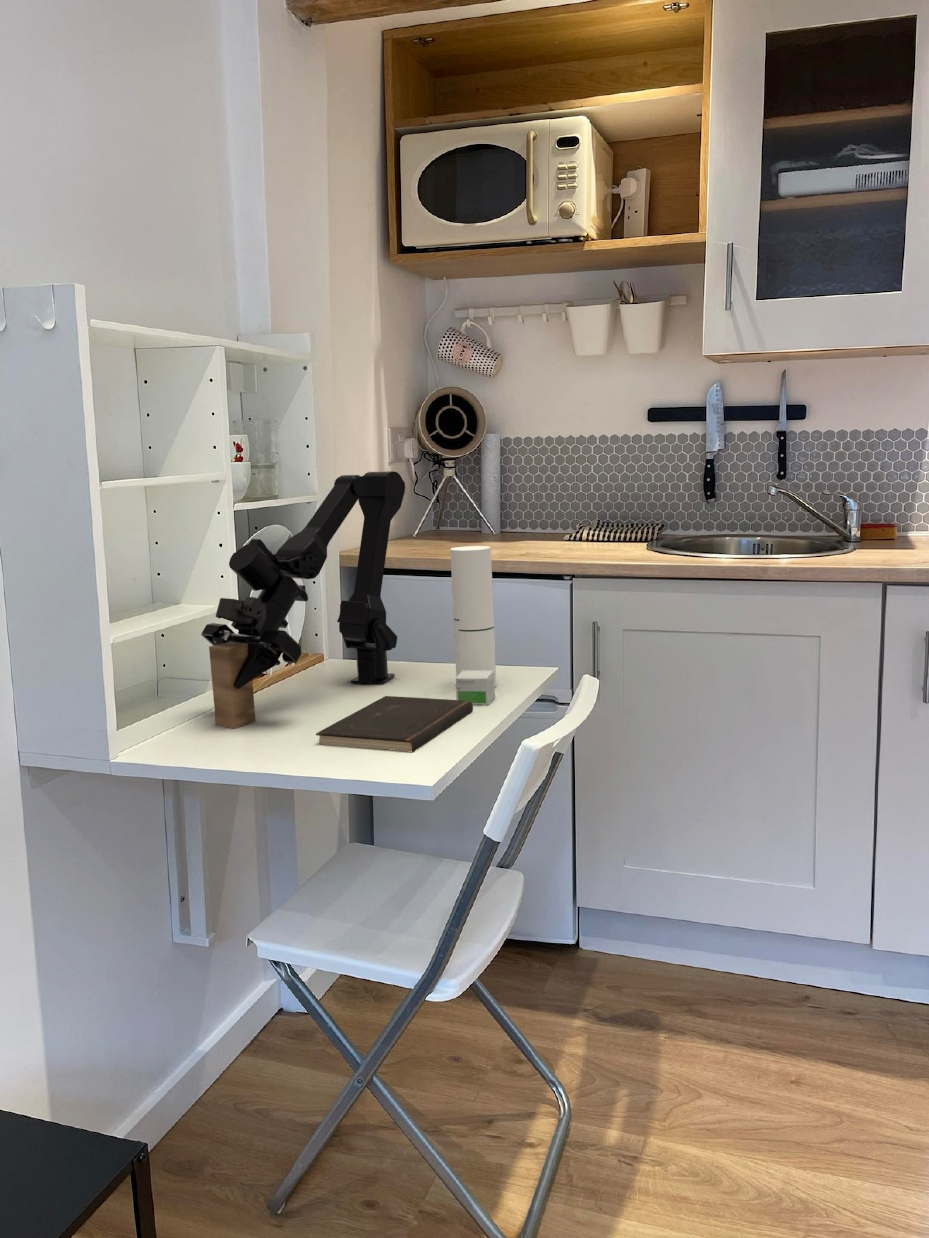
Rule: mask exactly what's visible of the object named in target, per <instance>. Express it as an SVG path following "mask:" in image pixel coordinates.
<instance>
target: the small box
mask: <svg viewBox="0 0 929 1238" xmlns="http://www.w3.org/2000/svg"><path fill="white" fill-rule="evenodd" d="M495 688H496V687H495V685H494V671H492V670H463V671H462V672H461V673H460V674H459V675H458V676H457V677H455V695H456V699H455V700H465V701H470V702H471V703H472V704H473V706H475V705H477V706H489V705H490V704H491V703H492V701H493V700H494V699H495V697H496V691H495V690H496V689H495Z"/></svg>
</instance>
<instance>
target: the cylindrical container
mask: <svg viewBox="0 0 929 1238" xmlns="http://www.w3.org/2000/svg"><path fill="white" fill-rule="evenodd" d="M491 548H492V547H491V546H488V545H470V546H469V545H468V546H467V545H466V546H456V547H451V548H450V550H449V551H450V571H451V591H452V592H451V593H452V616H453V633H454V635H453V637H454V652H455V653H454V655H455V657H454V658H455V676H456V677H457V676H458V675H459V674H460V673H461V672H462V671H463V670H492V671H494V685H495V686H496V687H497V673H496V672H497V671H496V649H495V647H496V646H495V645H496V644H495V641H496V640H495V627H494V626H495V621H494V620H495V619H494V597H493V595H494V593H493V570H492V569H493V568H492V567H493V566H492V549H491ZM456 677H455V678H456Z"/></svg>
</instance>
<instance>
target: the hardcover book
mask: <svg viewBox="0 0 929 1238" xmlns="http://www.w3.org/2000/svg"><path fill="white" fill-rule="evenodd" d="M473 708H474V705H473V704H472V703H471V702H470V701H465V700H457V699H446V698H445V699H444V698H430V697H429V698H428V697H427V698H426V697H413V696H412V697H410V696H392V695H384V696H383V697H381V698H379V699H377V700H375V701H374V702H371V703H370V704H368V705H366V706H365V707H362V708H361V709H359V710H357V711H354V712H353V713H351V714H349V715H348V716H346V717H344V718H342V719H340V720H338V721H337V722H334V723H332V724H331V725H329V726H327V727H325V728H323V729H322V730H320V731H318V732H316V733H315V736H319V737H318V738H319V739H318V742H319V745H327V746H335V747H336V746H337V747H348V746H349V748H362V749H373V750H384V749H392V750H391V751H396V750H403V751H402V752H408V751H412V752H411V753H415V750H416V749H417V750H418V748H419V749H420V748H422V747H423V746H424V745H426V744H427V743H429V742H430V741H432V740H434V739H435V738H436V737H438V736H439V735H440V734H442V733H444V732H445V731H446V730H448V729H450V727H453V725H455V724H456V722H457V723H458V722H459V721H461V720H462V719H464V718H465V717H467V716H468V715H470V714H471V713H472V712H473V711H474V709H473ZM393 749H394V750H393ZM404 750H405V751H404ZM417 750H416V751H417Z"/></svg>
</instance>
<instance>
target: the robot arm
mask: <svg viewBox="0 0 929 1238" xmlns="http://www.w3.org/2000/svg"><path fill="white" fill-rule="evenodd" d="M333 483H334V484H333V487H332V488H331V490H330V491H329V492H328V494H327V495H326V497H325V498H324V500H323V501H322V503H320V506H319V507H318V509H316V511H315V512H314V514H313V515H312V517H311V518H310V520H309V521H308V522H307V524H306V526H305V527H304V528H303V529H302V530H301V531H299V532H298V533H296V534H294V535H292V536H290V537H289V538H288V539H287V540H286V541H285V542H284V543H283V544H282V545H281V546H280V547H279V548H278V550H277V551H276V552H275V553H274V554H273V553H272V551H270V549H269V548H268V547H267V546H266V544H265V542H263V541H262V539H260V538H259V539H257V538H251V539H250V540H249V543H247V544H245V545H243V546H241V547H240V548H238V549H237V551H234V552H233V553H232V555H231V556H230V558H229V562H228V566H229V568H230V569H231V570H232V571H233V573H235V575H236V576H238V577H239V578H240V579H241V580H242V581H243V582H244V584H245V585H247V586H248V587H249V588H250V589H251V590H252V591H260V590H261V591H260V593H259V594H258V596H257V597H256V596H255V597H254V596H253V597H252V596H247V597H246V598H245V599H244V600H242V599H235V598H225V597H220V598H219V602H218V606H217V610H216V613H215V618H217V619H223V620H226V621H229V622H231V624H230V625H231V627H232V628H234V630H237V631H238V632H237V633H235V632H234V631H233V630H232V629H231V628H230V627H229V626H228V624H225V623H215V622H212V623H211V622H210V623H208V624H206V625H205V627H204V629H203V630H202V631H201V633H200V635H201V636H202V637H203V638H204V639H206V641H207V642H209V644H211V646H214V645H218V644H223V643H227V642H238V643H247V644H248V656H247V658H246V660H245V662H244V664H243V666H242V668H241V670H240V672H239V674H238V676H237V678H236V680H235V683H234V687H235V688H237V689H240V688H241V687H243V686H244V685H245V684H247V683H248V682H250V681H251V680H252V681H253V680H254V679H256V678H257V677H259V676H261V675H262V674H264V673H265V672H267V671H268V670H271V669H272V668H274V667H276V666H280V664H281V661H280V657H282V661H284V662H285V663H290V664H297V663H298V661H299V659H300V657H301V656H302V646H301V644H299V643H298V642H297V641H296V640H295V639H294V638H293V637H292V635H290V634H289V633H288V632H287V631H286V630H280V628H283V629H286V628H287V627H288V625H289V622H288V621H287V620H286V618H287V616H288V614H289V613H290V611H291V609H292V608H293V606H294V604H295V602H309V595H308V592H307V591H306V585H305V584H303V585H302V584H298V583H297V581H295V579H298V580H299V579H300V580H311V579H315V578H316V577H318V576H319V574H320V573H321V571H322V568H323V566H324V564H325V562H326V561H327V558H328V546H329V544H330V541H331V540H332V539H333V537H334V536H335V534H336V533H337V531H338V530H339V528H340V527H341V526H342V524H343V523H344V522H345V519H347V516H348V515H349V514H350V512H351V511H352V509H353V508H354V506H355V504H357V502H358V505H359V507H360V509H361V512H362V515H363V524H362V531H361V540H360V545H359V552H358V561H357V567H356V576H355V581H354V589H353V593H352V594H351V596H350V598H348V600H342V601H341V602H340V604H339V616H338V618H337V621H336V622H337V623H338V631H339V633H340V634H341V636H342V639H343V641H344V645H345V647H346V649H355V655H356V669H357V676H356V677H354V678H352V679H351V680H350V683H351V684H381V685H382V684H385V683H387V682H388V681H389V680H391V679H392V678H394V677H395V676H396V674H395V673H391V672H390V673H389V671H388V670H389V669H388V653H387V651H388V652H389V651H391V650H393V649H396V648H397V644H398V643H397V642H398V635H397V634H396V633H395V632H394V631H393V630H392V629H391V628H390V627H389V625H388V624H387V609H386V607H385V604H384V602H383V600H382V596H381V594H382V587H383V579H384V573H385V572H384V571H385V565H386V557H387V551H388V545H389V544H388V543H389V542H388V541H389V535H390V528H391V522H392V520H393V518H395V516H396V514H397V513H398V511H399V510H400V509H401V506H402V504H403V501H404V500H403V499H404V496H405V493H406V482H405V481H404V479H403V478H402V476H401V475H400V474H399V473H398V472H397V471H368V472H365V474H363V475H360V474H342V475H339V477H336V479H335V480H334V482H333Z"/></svg>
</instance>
